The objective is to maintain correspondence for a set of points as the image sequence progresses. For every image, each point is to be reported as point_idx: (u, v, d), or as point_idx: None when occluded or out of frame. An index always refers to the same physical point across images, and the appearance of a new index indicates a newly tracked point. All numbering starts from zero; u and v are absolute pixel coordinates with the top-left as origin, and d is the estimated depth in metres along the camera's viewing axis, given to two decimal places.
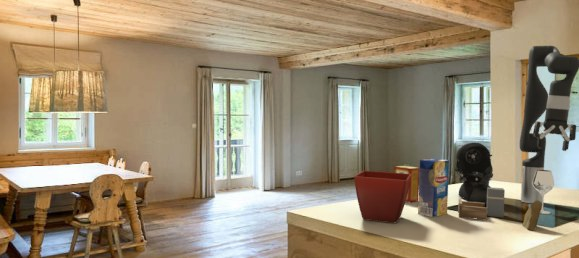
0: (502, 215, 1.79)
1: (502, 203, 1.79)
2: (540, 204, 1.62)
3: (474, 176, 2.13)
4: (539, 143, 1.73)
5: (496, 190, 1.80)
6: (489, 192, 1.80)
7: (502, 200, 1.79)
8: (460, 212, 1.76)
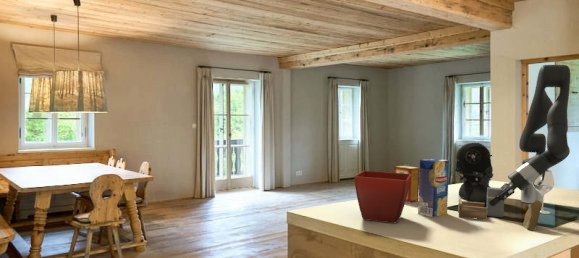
0: (502, 215, 1.79)
1: (502, 203, 1.79)
2: (540, 204, 1.62)
3: (474, 176, 2.13)
4: (496, 203, 1.79)
5: (496, 190, 1.80)
6: (489, 192, 1.80)
7: None
8: (460, 212, 1.76)
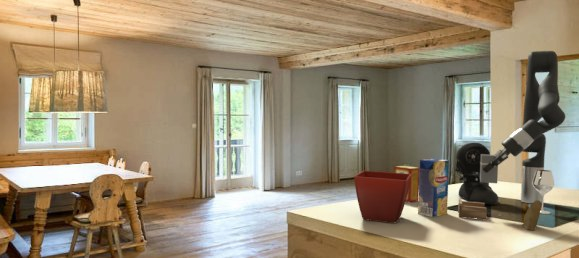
0: (496, 181, 1.77)
1: (496, 169, 1.77)
2: (540, 203, 1.62)
3: (474, 176, 2.13)
4: (489, 169, 1.77)
5: (490, 156, 1.78)
6: (483, 158, 1.79)
7: (496, 166, 1.77)
8: (460, 212, 1.76)
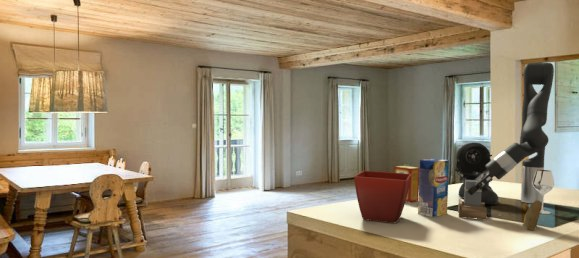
0: None
1: (479, 195, 1.77)
2: (540, 204, 1.62)
3: (474, 176, 2.13)
4: (474, 191, 1.76)
5: (473, 182, 1.78)
6: (466, 184, 1.79)
7: (479, 192, 1.77)
8: (460, 212, 1.76)
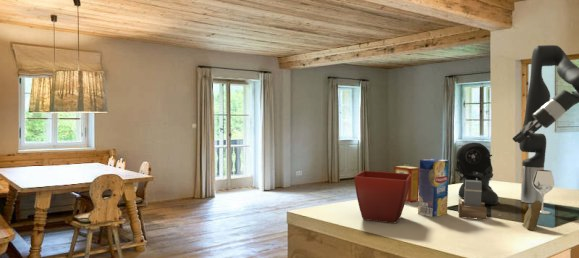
0: None
1: (479, 195, 1.77)
2: (540, 204, 1.62)
3: (474, 176, 2.13)
4: (522, 139, 1.75)
5: (473, 182, 1.78)
6: (466, 184, 1.79)
7: (479, 192, 1.77)
8: (460, 212, 1.76)
